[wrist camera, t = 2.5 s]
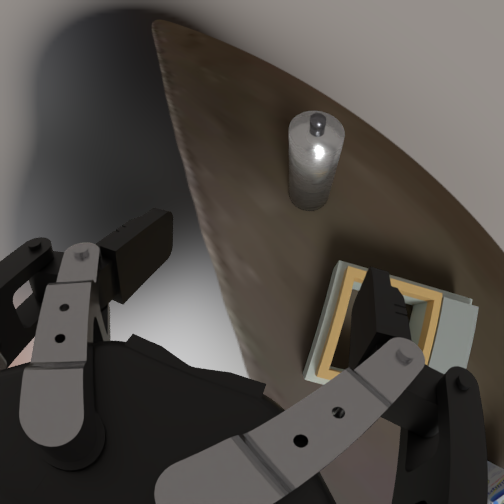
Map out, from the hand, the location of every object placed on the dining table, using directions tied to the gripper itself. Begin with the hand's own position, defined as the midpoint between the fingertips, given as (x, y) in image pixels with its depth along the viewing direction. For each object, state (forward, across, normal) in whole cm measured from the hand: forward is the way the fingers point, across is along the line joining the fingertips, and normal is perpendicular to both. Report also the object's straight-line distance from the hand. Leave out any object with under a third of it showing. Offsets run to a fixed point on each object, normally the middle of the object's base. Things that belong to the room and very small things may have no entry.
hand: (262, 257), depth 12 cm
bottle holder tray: (+13, -12, +13) cm, 22 cm away
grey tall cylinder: (+22, 0, +4) cm, 22 cm away
